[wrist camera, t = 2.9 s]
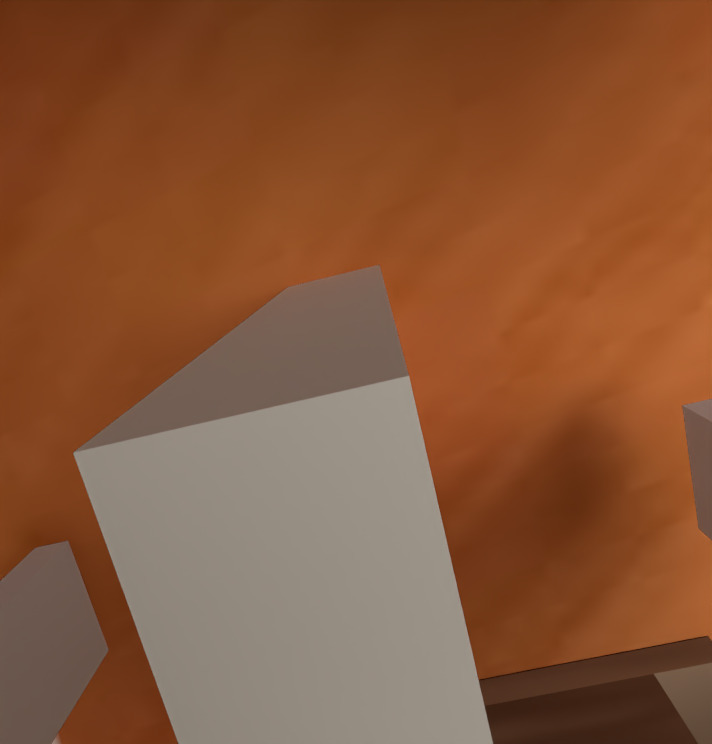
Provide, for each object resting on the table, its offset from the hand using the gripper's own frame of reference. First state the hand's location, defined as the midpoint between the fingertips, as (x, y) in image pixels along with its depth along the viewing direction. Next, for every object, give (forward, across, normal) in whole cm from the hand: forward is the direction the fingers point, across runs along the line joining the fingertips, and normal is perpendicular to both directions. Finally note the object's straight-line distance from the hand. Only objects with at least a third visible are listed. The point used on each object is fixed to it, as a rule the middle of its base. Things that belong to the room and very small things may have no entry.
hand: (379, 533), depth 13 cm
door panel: (+4, 0, 0) cm, 4 cm away
